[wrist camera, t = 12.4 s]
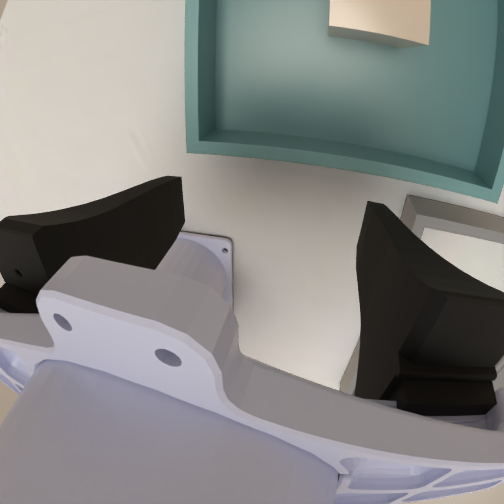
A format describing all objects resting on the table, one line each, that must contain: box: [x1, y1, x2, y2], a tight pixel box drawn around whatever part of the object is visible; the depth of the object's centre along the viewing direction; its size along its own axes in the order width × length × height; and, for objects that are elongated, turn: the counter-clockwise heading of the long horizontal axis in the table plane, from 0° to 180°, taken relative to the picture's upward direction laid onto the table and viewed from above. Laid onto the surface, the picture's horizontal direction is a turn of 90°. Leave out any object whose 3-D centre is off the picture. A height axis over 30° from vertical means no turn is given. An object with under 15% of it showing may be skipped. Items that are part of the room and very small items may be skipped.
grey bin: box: [339, 195, 504, 396], centre depth 25 cm, size 24×17×3 cm
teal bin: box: [185, 0, 504, 203], centre depth 13 cm, size 20×20×4 cm
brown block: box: [328, 0, 431, 48], centre depth 11 cm, size 4×4×6 cm
